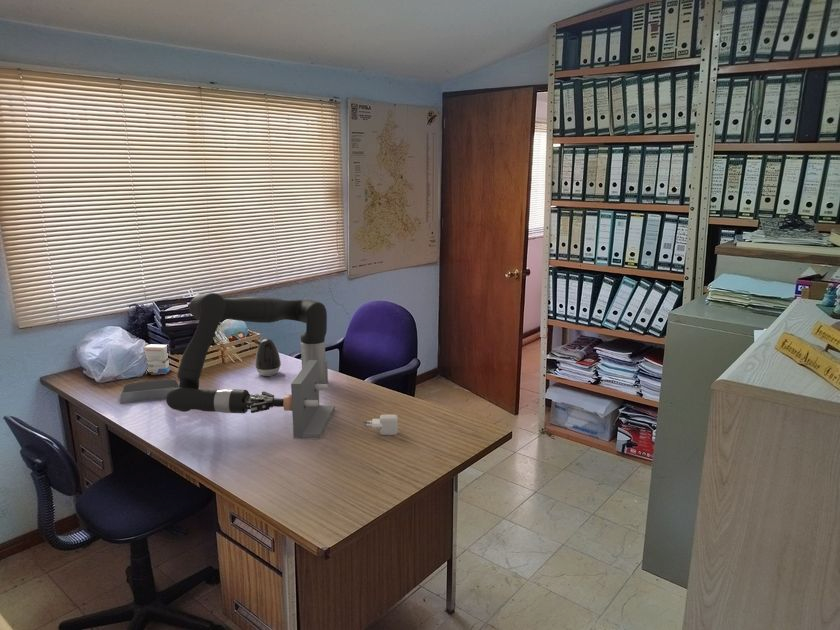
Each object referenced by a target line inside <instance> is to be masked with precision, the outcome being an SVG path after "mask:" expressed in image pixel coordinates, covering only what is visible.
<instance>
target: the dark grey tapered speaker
mask: <svg viewBox="0 0 840 630" xmlns="http://www.w3.org/2000/svg"><path fill="white" fill-rule="evenodd" d="M253 342H254V343H255V344H256V345H258V347H257V349H256V350H257V351H256V354H255V364H254V365H255V366H254V367H255V368H256V371H257V373H258V374H259V375H260V376H263V377H271V376H274V375H275V376H276V374H277V373H278V372H279V371H280V367H281V365H282V361H281V356H280V353H279V349H278V348H277V346H276V343H275V342H274V341H273V339H271V338H264V339H262V340H261V341H259V340H256V339H255V340H254V341H253Z"/></svg>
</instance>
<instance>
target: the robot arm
mask: <svg viewBox="0 0 840 630" xmlns="http://www.w3.org/2000/svg"><path fill="white" fill-rule="evenodd" d="M188 310H189V311H188V312H189V313H190V315H191V316H192V317H193V318H194V319H196V320H198V324H197V327H196V330H195V332H194V334H193V336H192V338H191V339H190V341H189V343H188V344H187V346H186V347H185V350H184V352H183V355H182V357H181V360H180V364H179V366H178V371H177V378H178V381H179V384H178V386H179V388H174V389H172V390H171V391H169V392H168V394H167V396H166V399H165V401H166V404H167V406H168V407H169V408H171V409H172V410H175V411H179V412H183V413H185V412H189V411H191V410H193V411H194V410H197V411H201V412H208V413H209V412H211V413H212V412H215V413H216V412H217V413H222V414H246V413H247V412H248V411H249V410H250V413H251V414H255V413H259V412H264V411H267V410H268V411H269V410H270V409H271V408H274V407H275V408H278V407H279V408H284V407H283V401H284V398H277V397H275V395H274V394H272V393H269V392H266V391H262V392H261V394H259V393H254V394H250V393H249V391H248V389H238V388H237V389H231V388H228V389H227V388H223V389H199V388H200V379H201V374H202V372H203V368H204V364H205V361H206V358H207V354H208V352H209V349H210V347H211V343H212V341H213V340H214V339H213V338H214V337H215V334H216V332H217V329H218V328H219V325H220V323H221V321H222V320H233V321H239V322H247V323H262V324H263V323H267V324H268V323H269V324H270V323H276V322H279V321H284V320H286V321H287V320H289V321H295V322H296V321H297V322H301V323H303V324H306V325H305V327H306V330H305V332H303V333H301V335H300V353H301V354H300V355H301V356H300V358H301V370H302V369H303V367H304V366H305V365H306V363H307V362H308V361H309V360H318V384H328V383H329V373H328V371H329V369H328V359H326V342H325V341H326V340H325V338H326V334H327V330H328V328H327V327H328V316H327V315H328V314H327V312H328V311H327V308H326V306H325V305H324V304H323V303H322V302H320V301H316V300H312V299H295V300H294V299H293V300H287V299H286V300H284V299H279V298H275V297H267V296H244V297H235V298H233V297H232V298H229V297H227V298H226V297H225V298H224V297H223V296H222V295H220V294H219V293H216V292H208V293H202V294H201V293H200V294H198V295H196V296H194V297H193V298H192V299H191V300H190V302H189V305H188Z"/></svg>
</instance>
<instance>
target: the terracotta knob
mask: <svg viewBox="0 0 840 630" xmlns="http://www.w3.org/2000/svg"><path fill="white" fill-rule="evenodd" d="M283 399H284V401H283V407H282V408H283V410H284V411H285V412H287V411H288V412H289V411H292V394H285V395H284V397H283ZM318 404H319V405H320V400H319V401H318V400H304V406H316V407H318Z"/></svg>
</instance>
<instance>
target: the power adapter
mask: <svg viewBox="0 0 840 630" xmlns="http://www.w3.org/2000/svg"><path fill="white" fill-rule="evenodd" d="M362 427H371V429H379V434H380V435H381V436H396V435H398V434H399V417H398V415H397V414H380V416H379V418H372V420H363V424H362Z"/></svg>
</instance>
